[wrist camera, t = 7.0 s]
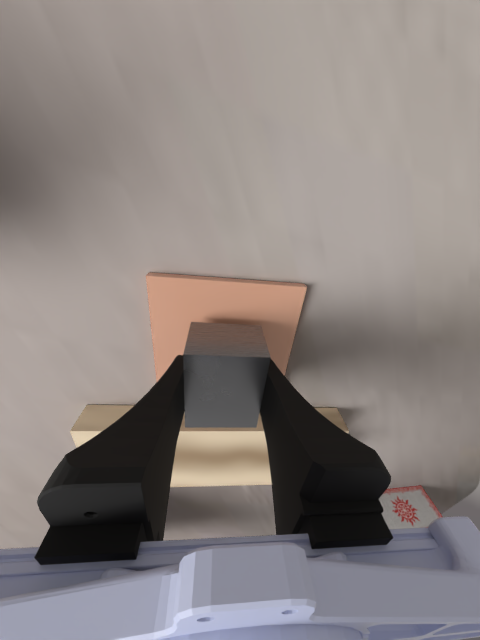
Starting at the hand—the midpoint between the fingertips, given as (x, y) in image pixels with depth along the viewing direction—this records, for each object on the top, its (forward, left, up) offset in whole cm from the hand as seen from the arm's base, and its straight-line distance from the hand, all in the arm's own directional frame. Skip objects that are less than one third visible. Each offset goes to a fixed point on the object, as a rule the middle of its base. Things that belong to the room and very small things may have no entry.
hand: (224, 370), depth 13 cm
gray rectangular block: (0, 0, -1) cm, 1 cm away
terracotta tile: (0, 0, -3) cm, 3 cm away
